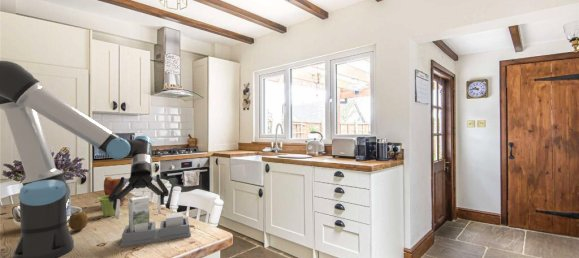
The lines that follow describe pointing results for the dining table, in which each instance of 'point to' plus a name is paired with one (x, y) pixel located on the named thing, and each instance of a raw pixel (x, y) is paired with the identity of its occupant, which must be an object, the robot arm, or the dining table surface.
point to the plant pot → (107, 206)
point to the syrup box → (139, 213)
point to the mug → (111, 187)
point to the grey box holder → (159, 231)
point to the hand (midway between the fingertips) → (138, 214)
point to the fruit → (78, 221)
